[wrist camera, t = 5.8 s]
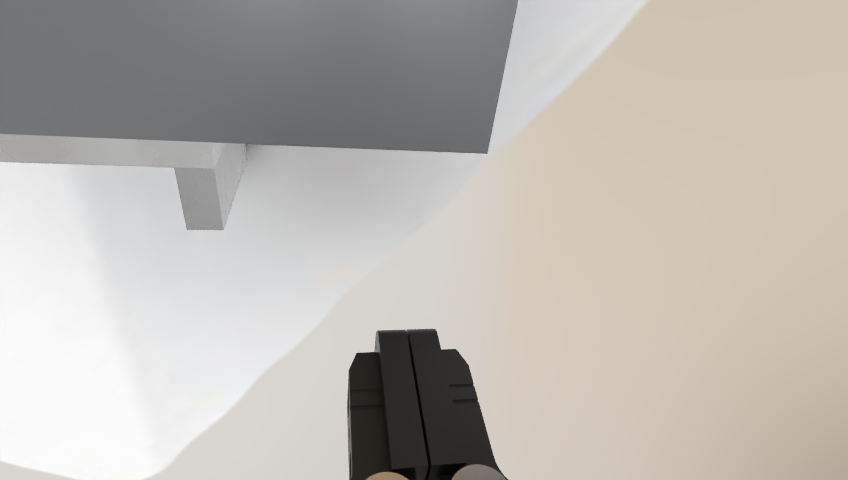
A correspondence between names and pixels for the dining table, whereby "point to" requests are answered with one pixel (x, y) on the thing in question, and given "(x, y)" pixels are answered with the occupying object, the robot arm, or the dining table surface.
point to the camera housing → (257, 71)
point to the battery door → (193, 161)
